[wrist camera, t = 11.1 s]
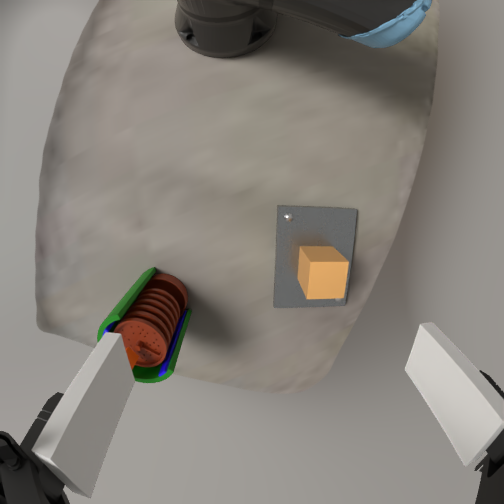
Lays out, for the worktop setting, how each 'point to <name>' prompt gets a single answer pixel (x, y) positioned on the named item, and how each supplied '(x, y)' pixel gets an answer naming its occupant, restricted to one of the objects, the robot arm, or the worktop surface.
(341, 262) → the orange block
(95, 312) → the worktop surface
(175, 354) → the motor
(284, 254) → the plate
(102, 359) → the robot arm
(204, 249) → the worktop surface
